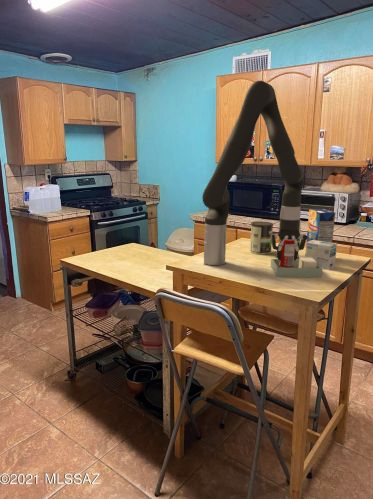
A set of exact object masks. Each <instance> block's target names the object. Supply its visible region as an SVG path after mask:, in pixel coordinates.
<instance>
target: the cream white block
mask: <svg viewBox="0 0 373 499" xmlns="http://www.w3.org/2000/svg"><path fill="white" fill-rule="evenodd" d="M298 259H299V268H317V262H316V261H315V260H314V259H313V258H305V256H304V257H301V256H300V257H299V256H298Z"/></svg>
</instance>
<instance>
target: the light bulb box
mask: <svg viewBox="0 0 373 499" xmlns="http://www.w3.org/2000/svg"><path fill="white" fill-rule="evenodd" d="M306 242H307V241H306ZM337 247H338V243H337V242H335V243H334V242H332V243H330V242H324V241H317V240H311V241H308V242H307V244H306V243H305V253H306V256H305V255H304V258H313V259H314V260H315V261H316V262H317V264H318V265H319V266H320V267H321V268H322V270H327V271H329V270H332V269H334V268H335V267H336V257H337Z"/></svg>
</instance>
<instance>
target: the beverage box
mask: <svg viewBox="0 0 373 499" xmlns="http://www.w3.org/2000/svg"><path fill="white" fill-rule="evenodd" d="M308 211H309V212H308V221H307V222H308V223H307V232H306V236H307V239H306V242H305V245H306V244H307V242H308V241H311V240H317V241H324V242H330V243H333V239H334V230H335V218H336V212H335V211H332V210H328V209H325V208H309V210H308ZM304 253H305V254H304V257H305V256H306V252H304Z"/></svg>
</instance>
